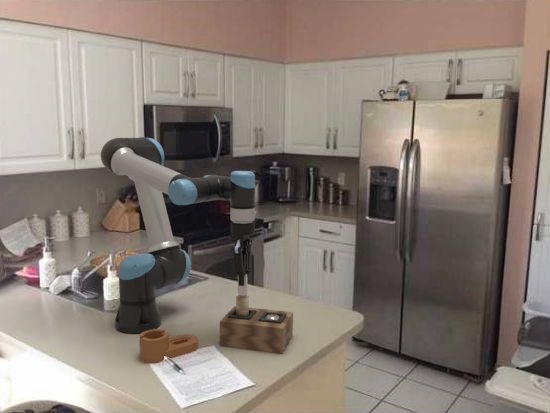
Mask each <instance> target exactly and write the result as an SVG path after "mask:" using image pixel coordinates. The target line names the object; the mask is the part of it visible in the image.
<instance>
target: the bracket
mask: <svg viewBox="0 0 550 413" xmlns="http://www.w3.org/2000/svg"><path fill="white" fill-rule="evenodd" d="M169 334H170V333H169V331H166V330H165V329H162V328H161V329H160V328H155V329H152V330H147V331H144V332H141V333H140V334H139V358H140V361H142V362H143V363H146V364H158V363H160V362H164V361H163V360H164V356H167V357H169V358H171V359H174V358H177V357H181V356H184V355H188V354H191V353H194V352H196V351H197V350H198V349H199V338H198V337H197V336H196V335H194V334H187V333H186V334H178V335H174V336H171V337H170V335H169Z"/></svg>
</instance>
